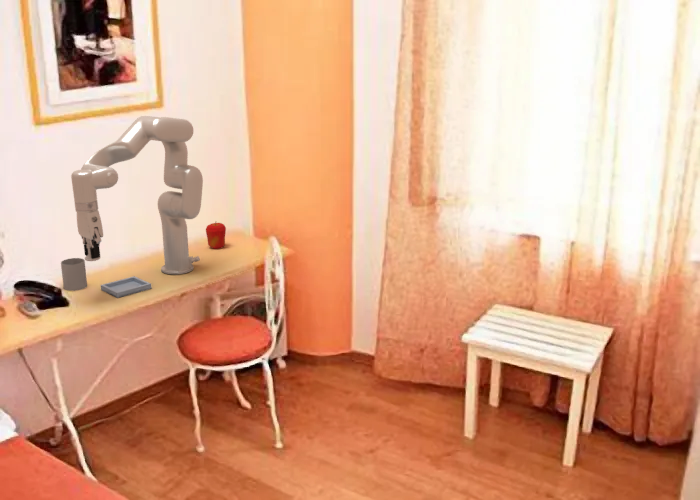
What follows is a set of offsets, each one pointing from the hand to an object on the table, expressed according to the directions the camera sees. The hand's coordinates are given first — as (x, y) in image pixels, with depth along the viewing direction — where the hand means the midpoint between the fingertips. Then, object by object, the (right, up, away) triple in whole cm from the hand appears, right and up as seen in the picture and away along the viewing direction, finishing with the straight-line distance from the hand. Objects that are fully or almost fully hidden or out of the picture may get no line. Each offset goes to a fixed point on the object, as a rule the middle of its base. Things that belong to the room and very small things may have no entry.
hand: (92, 255), depth 286 cm
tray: (+8, -13, +15) cm, 21 cm away
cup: (-12, -12, +18) cm, 25 cm away
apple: (+33, +3, +65) cm, 73 cm away
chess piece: (0, -1, 0) cm, 1 cm away
